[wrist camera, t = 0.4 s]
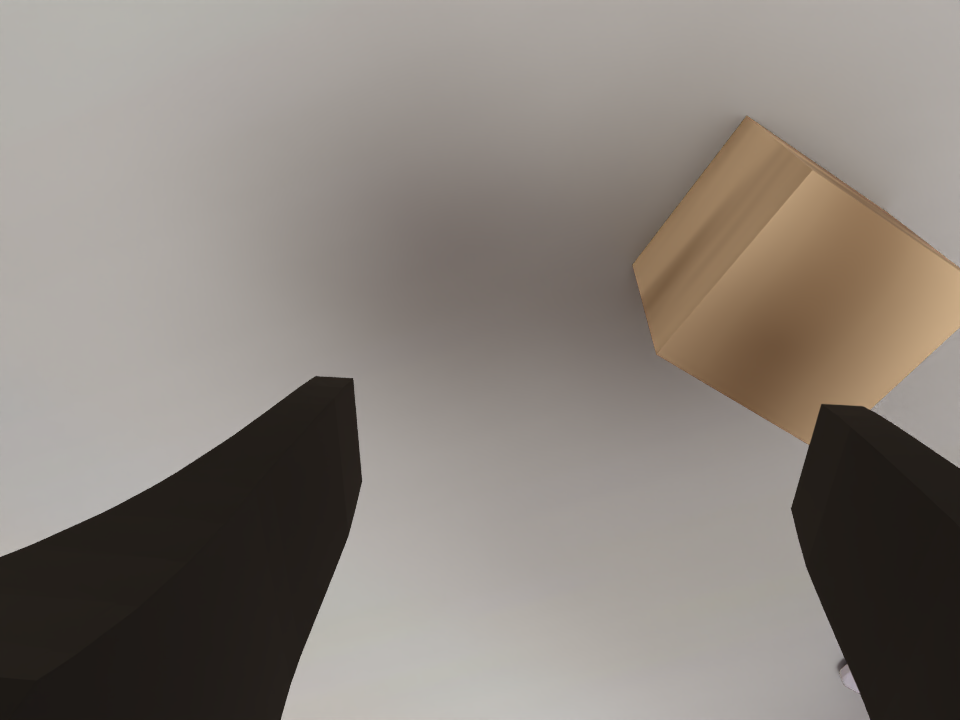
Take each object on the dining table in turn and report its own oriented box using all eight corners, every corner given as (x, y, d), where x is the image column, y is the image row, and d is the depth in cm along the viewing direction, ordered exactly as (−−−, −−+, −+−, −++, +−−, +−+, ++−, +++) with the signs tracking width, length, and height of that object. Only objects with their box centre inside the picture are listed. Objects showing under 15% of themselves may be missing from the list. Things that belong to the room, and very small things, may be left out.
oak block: (887, 212, 18) (994, 294, 14) (763, 344, 20) (822, 453, 16) (746, 115, 17) (812, 170, 13) (632, 264, 19) (656, 354, 15)
